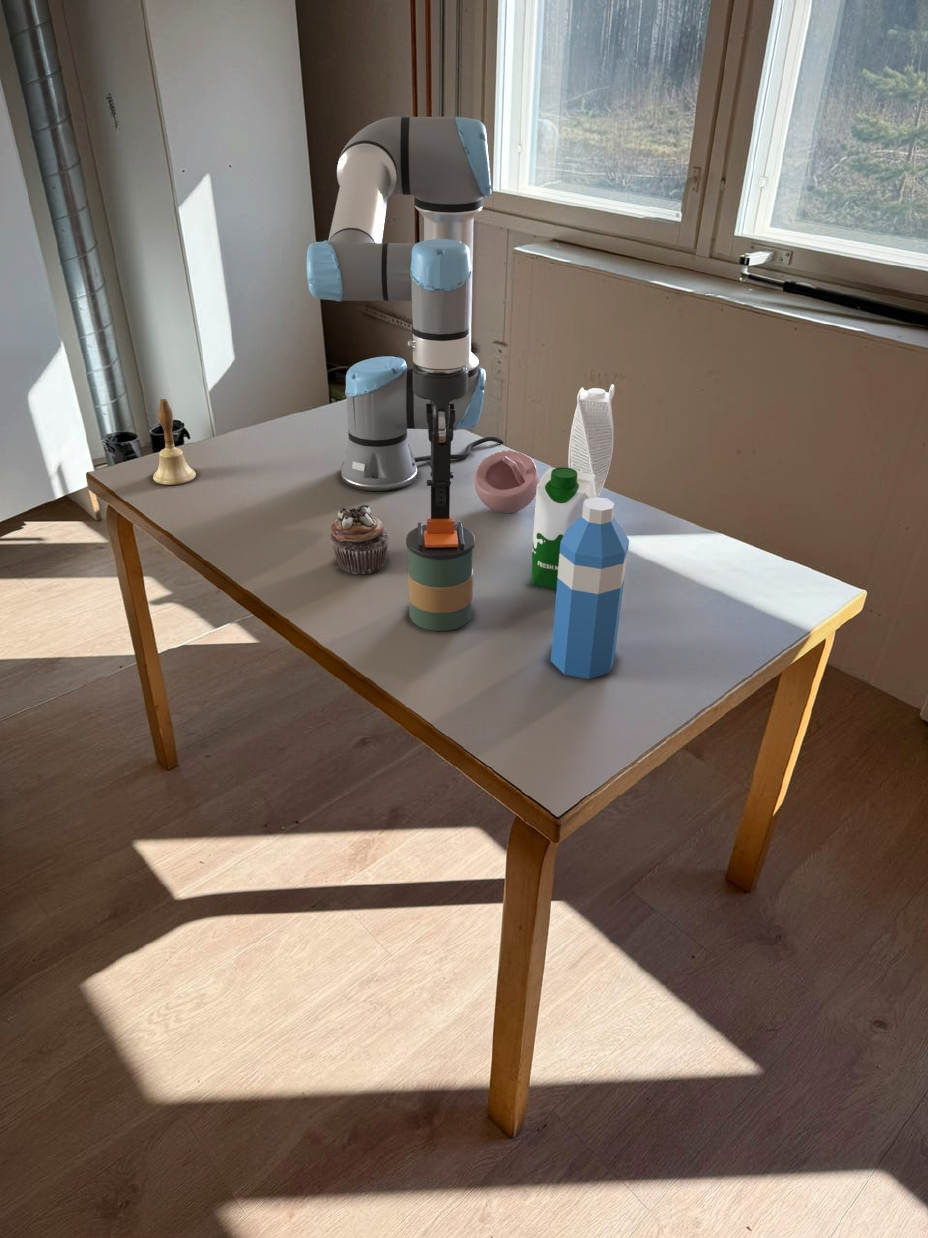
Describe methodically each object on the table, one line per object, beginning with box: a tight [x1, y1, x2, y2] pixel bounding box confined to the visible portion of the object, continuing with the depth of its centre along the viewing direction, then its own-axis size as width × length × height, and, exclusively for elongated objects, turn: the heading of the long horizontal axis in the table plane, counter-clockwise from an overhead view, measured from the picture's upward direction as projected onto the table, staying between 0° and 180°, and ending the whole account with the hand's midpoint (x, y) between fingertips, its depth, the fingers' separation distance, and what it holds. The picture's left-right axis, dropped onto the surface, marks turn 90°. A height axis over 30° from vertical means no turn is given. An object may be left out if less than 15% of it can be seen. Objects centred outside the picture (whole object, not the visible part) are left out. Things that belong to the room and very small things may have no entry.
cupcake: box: [330, 504, 390, 575], centre depth 154 cm, size 10×10×10 cm
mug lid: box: [405, 521, 476, 560], centre depth 136 cm, size 10×10×2 cm
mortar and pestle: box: [474, 449, 540, 514], centre depth 172 cm, size 12×12×11 cm
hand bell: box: [152, 398, 197, 486], centre depth 181 cm, size 8×8×16 cm
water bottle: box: [550, 496, 630, 680], centre depth 127 cm, size 9×9×25 cm
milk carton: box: [531, 466, 595, 590], centre depth 148 cm, size 9×9×20 cm
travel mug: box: [407, 548, 474, 632], centre depth 140 cm, size 10×10×12 cm
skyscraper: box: [567, 383, 615, 497], centre depth 160 cm, size 8×8×28 cm
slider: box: [424, 518, 458, 548], centre depth 134 cm, size 4×5×2 cm
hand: (440, 522), depth 136 cm, fingers closed
